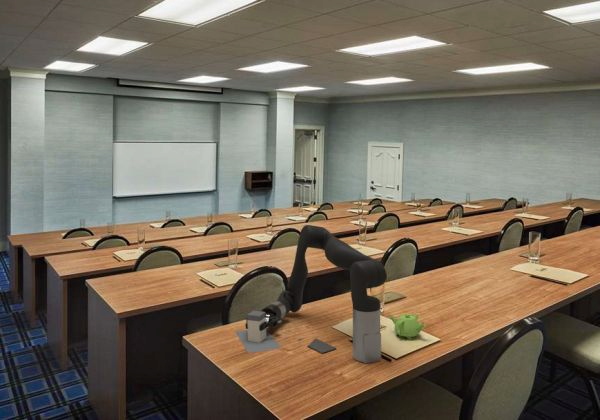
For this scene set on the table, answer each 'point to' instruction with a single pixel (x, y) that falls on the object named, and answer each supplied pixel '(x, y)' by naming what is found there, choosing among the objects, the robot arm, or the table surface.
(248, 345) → the desk mat
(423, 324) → the teapot
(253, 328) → the block
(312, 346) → the smartphone
